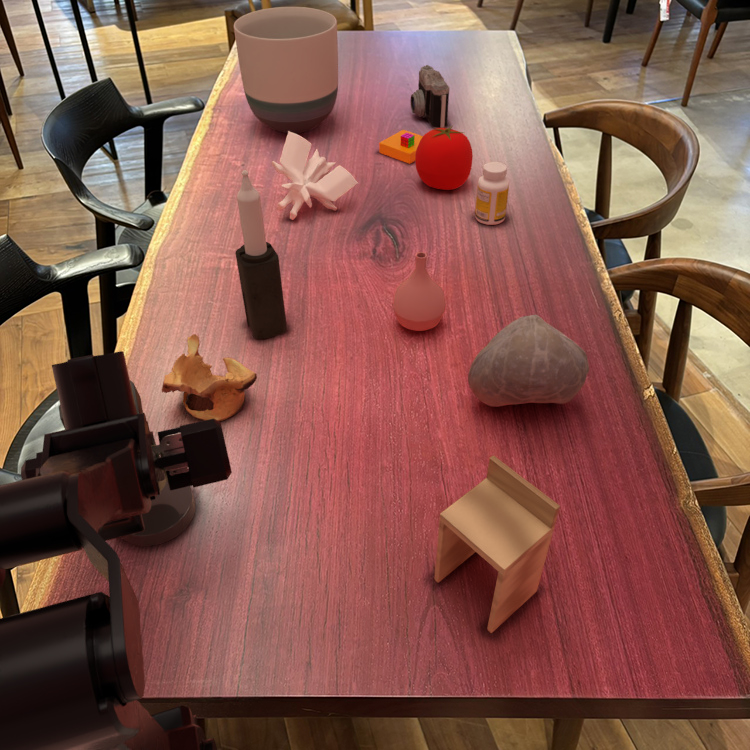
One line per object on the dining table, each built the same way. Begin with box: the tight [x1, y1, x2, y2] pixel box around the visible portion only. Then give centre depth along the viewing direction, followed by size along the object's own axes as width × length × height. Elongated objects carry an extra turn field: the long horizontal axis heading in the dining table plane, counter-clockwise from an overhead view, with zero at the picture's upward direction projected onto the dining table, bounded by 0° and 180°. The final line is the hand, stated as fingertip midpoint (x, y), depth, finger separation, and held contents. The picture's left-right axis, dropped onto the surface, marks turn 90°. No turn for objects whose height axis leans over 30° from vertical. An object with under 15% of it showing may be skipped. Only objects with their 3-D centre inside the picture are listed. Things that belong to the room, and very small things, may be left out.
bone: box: [161, 333, 258, 422], centre depth 92 cm, size 12×10×8 cm
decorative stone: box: [467, 314, 590, 408], centre depth 88 cm, size 15×10×15 cm
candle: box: [235, 169, 288, 341], centre depth 97 cm, size 5×5×25 cm
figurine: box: [271, 131, 359, 221], centre depth 130 cm, size 15×12×14 cm
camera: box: [410, 64, 450, 129], centre depth 157 cm, size 15×7×10 cm, turn 12°
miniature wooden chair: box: [433, 455, 561, 634], centre depth 69 cm, size 7×8×14 cm
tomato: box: [414, 125, 474, 191], centre depth 133 cm, size 10×11×11 cm
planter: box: [233, 6, 339, 134], centre depth 149 cm, size 20×20×21 cm
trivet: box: [120, 480, 196, 547], centre depth 81 cm, size 9×9×2 cm
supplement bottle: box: [474, 161, 510, 226], centre depth 124 cm, size 5×5×10 cm
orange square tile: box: [378, 129, 424, 165], centre depth 146 cm, size 8×8×4 cm
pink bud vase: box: [391, 251, 447, 332], centre depth 102 cm, size 8×8×12 cm
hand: (140, 464), depth 78 cm, fingers closed on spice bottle, 5 cm apart
